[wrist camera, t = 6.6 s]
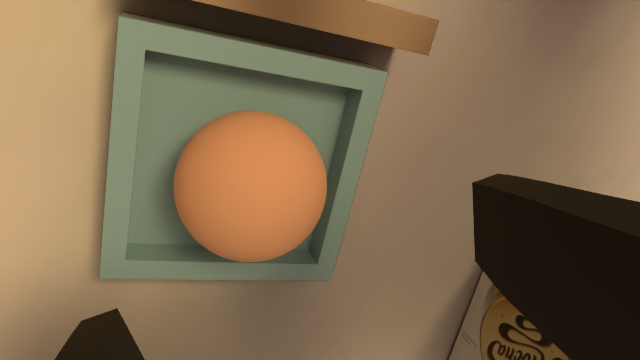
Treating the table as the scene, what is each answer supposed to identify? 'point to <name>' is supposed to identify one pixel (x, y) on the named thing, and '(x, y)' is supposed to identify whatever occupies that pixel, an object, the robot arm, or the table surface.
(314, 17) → the rail
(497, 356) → the coffee box
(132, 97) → the tray
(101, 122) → the table surface
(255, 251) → the ball
